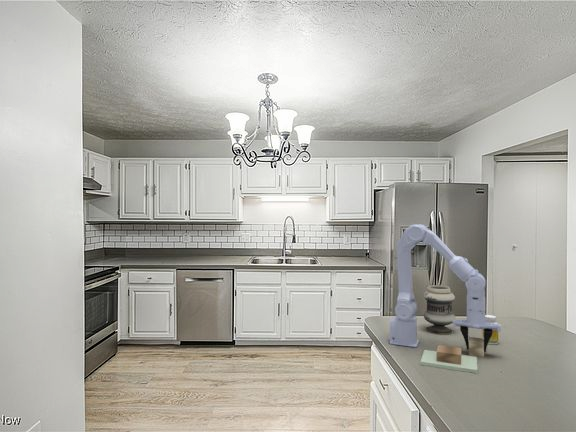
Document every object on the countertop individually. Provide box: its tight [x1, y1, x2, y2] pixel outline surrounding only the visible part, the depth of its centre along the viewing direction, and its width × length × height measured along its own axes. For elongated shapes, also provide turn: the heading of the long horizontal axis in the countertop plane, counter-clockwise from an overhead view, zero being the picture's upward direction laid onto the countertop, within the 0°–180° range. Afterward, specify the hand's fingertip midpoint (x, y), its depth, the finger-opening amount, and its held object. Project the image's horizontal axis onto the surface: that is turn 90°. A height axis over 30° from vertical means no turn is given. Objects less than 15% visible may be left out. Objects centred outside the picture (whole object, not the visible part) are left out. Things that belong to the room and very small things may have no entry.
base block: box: [436, 344, 462, 365], centre depth 122 cm, size 7×7×3 cm
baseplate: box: [420, 349, 479, 374], centre depth 122 cm, size 16×12×1 cm
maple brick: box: [468, 336, 485, 358], centre depth 129 cm, size 4×4×5 cm
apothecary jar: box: [423, 284, 456, 335], centre depth 156 cm, size 12×12×18 cm
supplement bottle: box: [481, 314, 499, 345], centre depth 142 cm, size 5×5×10 cm
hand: (476, 349), depth 129 cm, fingers closed on maple brick, 4 cm apart
